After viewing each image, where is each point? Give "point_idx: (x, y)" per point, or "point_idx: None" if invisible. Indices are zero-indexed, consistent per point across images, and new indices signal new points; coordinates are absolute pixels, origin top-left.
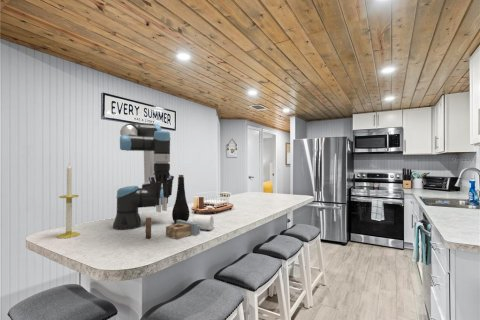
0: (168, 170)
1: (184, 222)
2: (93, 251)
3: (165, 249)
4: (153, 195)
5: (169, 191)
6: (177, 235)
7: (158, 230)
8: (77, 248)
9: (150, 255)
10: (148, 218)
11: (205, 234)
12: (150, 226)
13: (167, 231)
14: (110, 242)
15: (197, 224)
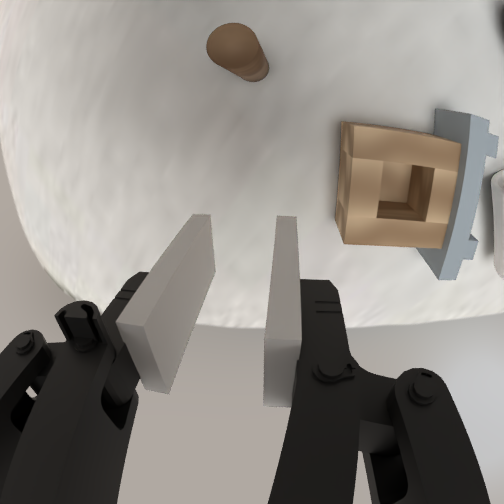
0: None
1: (459, 195)
2: (33, 94)
3: None
4: (34, 388)
5: (373, 493)
6: (338, 226)
7: (385, 5)
8: (22, 33)
9: None
10: (221, 59)
11: None
12: (248, 74)
13: (347, 137)
14: (100, 18)
15: (498, 219)
